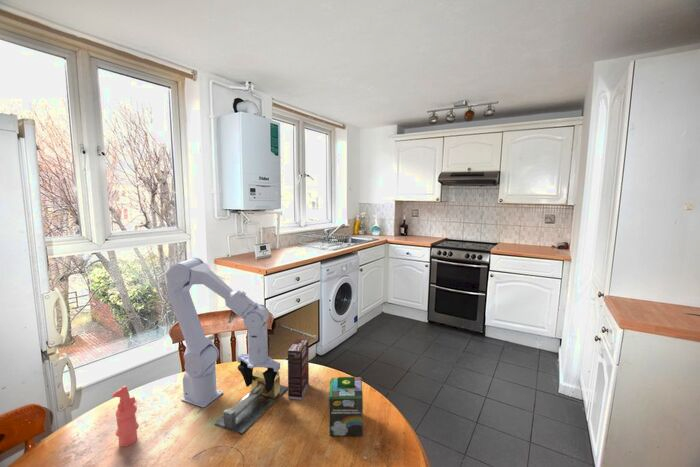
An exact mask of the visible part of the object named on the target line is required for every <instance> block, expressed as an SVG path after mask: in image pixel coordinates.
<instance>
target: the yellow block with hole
mask: <svg viewBox="0 0 700 467" xmlns="http://www.w3.org/2000/svg"><path fill="white" fill-rule="evenodd" d="M264 372H265V371H262V370H261V371H260V370H256V371H253V381H252V384H251V385H250V386H251V387H250V388H251V390H253V389H254V388H255V387H256V386H257V385H258V384H259V383H260V382H261V381H263V382H265V378H264V376H263V373H264ZM280 382H281V378H280V375H279V376H277V375H276V377H275V380H274V383H273V388H272V390H271V391H270V392H266V391H264V392H263V393H262V395H265V396H269V397H272V398H275V397H276V396H277V395H278V394H279V393H280V385H281V383H280ZM251 390H250V391H251Z"/></svg>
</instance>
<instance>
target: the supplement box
mask: <svg viewBox="0 0 700 467" xmlns="http://www.w3.org/2000/svg"><path fill="white" fill-rule="evenodd" d="M309 341H310V340H309V339H301V338H300V339H297V338H296V339H295V340H294V342H293V343H292V344H291V346H290V347H289V349H288V350H287V387H288V389H287V398H288V399H289V400H291V399H292V400H299V401H300V400H301V401H302V400H303V398H304V396H305V392H306V391H307V389H308V387H309V384H310V383H309V381H310V380H309V379H310V378H309V377H310V376H309V375H310V374H309V369H310V368H309V365H310V364H309V363H310V362H309V357H310V356H309Z"/></svg>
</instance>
